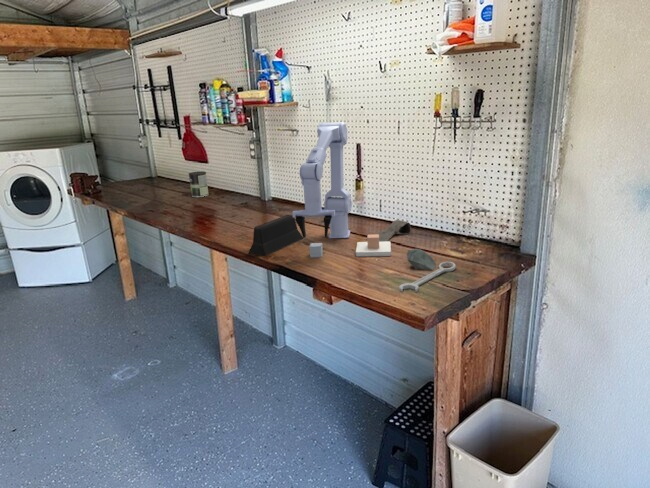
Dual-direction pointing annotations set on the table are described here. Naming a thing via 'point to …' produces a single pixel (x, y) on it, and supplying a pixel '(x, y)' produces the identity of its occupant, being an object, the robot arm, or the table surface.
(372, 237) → the terracotta block
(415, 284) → the wrench
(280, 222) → the barrier
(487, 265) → the table surface
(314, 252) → the grey blue block
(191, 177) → the coffee can
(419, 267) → the stone
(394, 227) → the axe head
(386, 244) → the base board
